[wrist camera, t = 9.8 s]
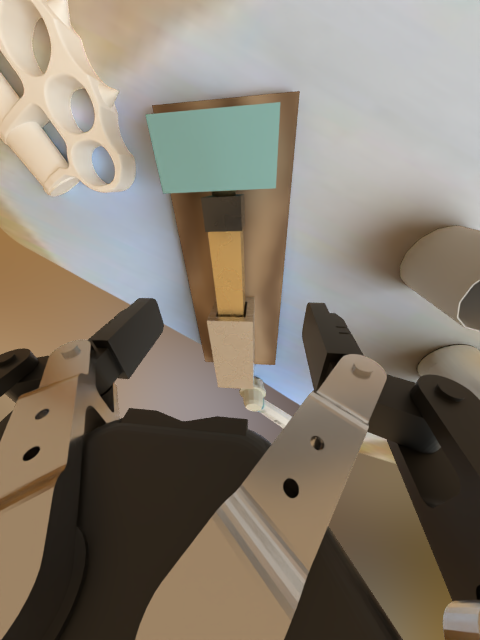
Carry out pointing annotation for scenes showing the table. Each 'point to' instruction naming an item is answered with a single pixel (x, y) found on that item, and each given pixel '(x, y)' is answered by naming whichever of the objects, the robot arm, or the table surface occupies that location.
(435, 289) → the cup
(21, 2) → the knuckle duster
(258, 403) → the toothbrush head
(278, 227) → the base board
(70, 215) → the table surface
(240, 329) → the sleeve
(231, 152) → the teal rectangular block
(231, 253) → the plug
